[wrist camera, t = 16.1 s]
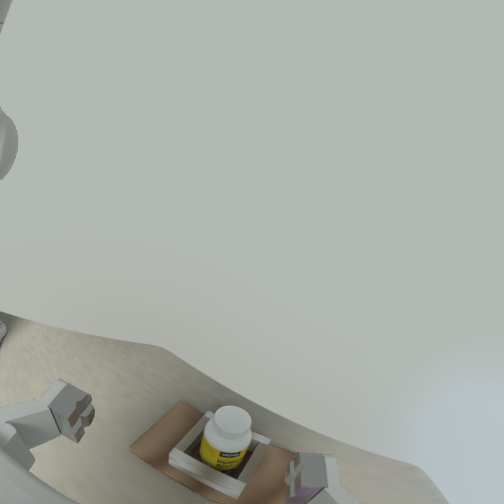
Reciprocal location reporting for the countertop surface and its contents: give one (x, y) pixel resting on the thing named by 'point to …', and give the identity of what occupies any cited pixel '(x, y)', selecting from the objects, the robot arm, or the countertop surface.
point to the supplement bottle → (226, 439)
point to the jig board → (204, 477)
